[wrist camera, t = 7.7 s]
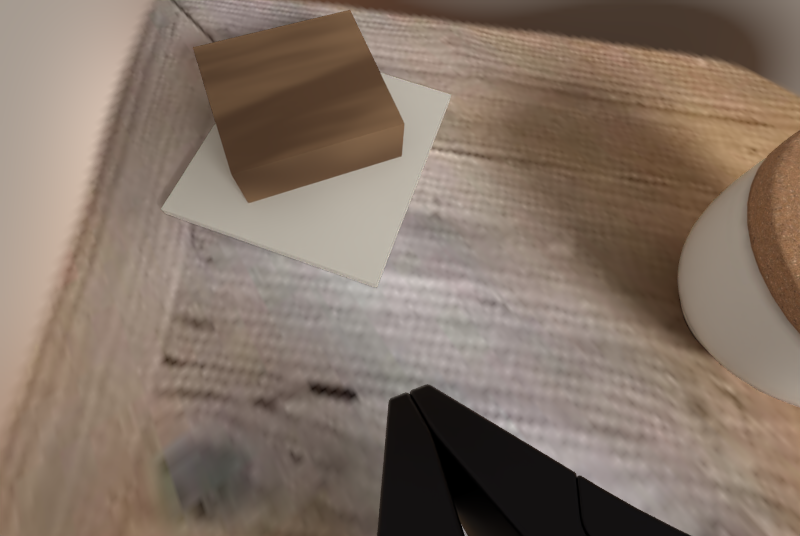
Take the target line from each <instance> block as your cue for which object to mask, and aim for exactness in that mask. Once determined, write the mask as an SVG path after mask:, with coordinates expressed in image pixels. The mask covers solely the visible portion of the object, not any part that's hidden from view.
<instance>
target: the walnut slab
mask: <svg viewBox="0 0 800 536" xmlns="http://www.w3.org/2000/svg"><path fill="white" fill-rule="evenodd" d="M193 50H194V53H195V56H196V60H197V63H198V66H199V69H200V73H201V76H202V79H203V83H204V86H205V89H206V93H207V96H208V99H209V103H210V106H211V109H212V113H213V116H214V119H215V122H216V126H217V129H218V132H219V136H220V139H221V142H222V146H223V149H224V152H225V156H226V159H227V162H228V166H229V169H230V172H231V175H232V177H233V178H234V180H235V182H236V183H237V185H238V187H239V188H240V190H241V192H242V193H243V195H244V197H245V198H246V200H247V202H248V203H251V202H255V201H258V200H261V199H264V198H268V197H271V196H274V195H277V194H281V193H284V192H287V191H290V190H294V189H297V188H300V187H303V186H307V185H310V184H313V183H316V182H320V181H323V180H326V179H329V178H333V177H336V176H339V175H342V174H346V173H349V172H352V171H355V170H359V169H362V168H365V167H368V166H372V165H375V164H378V163H381V162H385V161H388V160H391V159H394V158H398V157H401V156H402V148H403V136H404V125H405V123H404V121H403V119H402V117H401V115H400V113H399V111H398V109H397V107H396V104H395V102H394V100H393V98H392V96H391V94H390V92H389V90H388V88H387V86H386V84H385V82H384V80H383V77H382V75H381V73H380V71H379V69H378V67H377V65H376V63H375V61H374V59H373V57H372V55H371V53H370V50H369V48H368V46H367V44H366V42H365V40H364V38H363V36H362V34H361V32H360V30H359V28H358V26H357V23H356V21H355V19H354V17H353V15H352V13H351V11H350V10H348V11H343V12H339V13H335V14H331V15H327V16H322V17H318V18H314V19H310V20H306V21H301V22H297V23H293V24H289V25H285V26H280V27H276V28H272V29H268V30H264V31H260V32H255V33H251V34H247V35H243V36H239V37H234V38H230V39H226V40H222V41H218V42H213V43H209V44H205V45H201V46H197V47H193Z"/></svg>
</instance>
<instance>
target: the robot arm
mask: <svg viewBox="0 0 800 536" xmlns="http://www.w3.org/2000/svg"><path fill="white" fill-rule="evenodd" d="M461 524H462V525H461ZM462 526H463V528H464V530H465V531H466V533H467V535H468V536H691V535H689V534H687V533H684V532H682V531H680V530H678V529H676V528H674V527H672V526H670V525H668V524H666V523H664V522H663V521H661V520H659V519H657V518H655V517H653V516H651V515H649V514H647V513H645V512H643V511H641V510H639V509H637V508H635V507H633V506H632V505H630V504H628V503H626V502H625V501H623V500H621V499H619V498H618V497H616V496H614V495H612V494H611V493H609V492H607V491H605V490H604V489H602V488H600V487H599V486H597V485H595V484H594V483H592V482H590V481H589V480H587V479H585V478H584V477H582V476H576V473H575V472H573V471H572V470H570V469H569V468H567V467H565V466H564V465H562V464H560V463H559V462H557V461H555V460H554V459H552V458H550V457H549V456H547V455H545V454H544V453H542V452H540V451H539V450H537V449H535V448H534V447H532V446H530V445H529V444H527V443H525V442H524V441H522V440H520V439H519V438H517V437H515V436H514V435H512V434H511V433H509V432H507V431H506V430H504V429H502V428H501V427H499V426H497V425H496V424H494V423H492V422H491V421H489V420H487V419H486V418H484V417H482V416H481V415H479V414H477V413H476V412H474V411H472V410H471V409H469V408H467V407H466V406H464V405H462V404H461V403H459V402H458V401H456V400H454V399H453V398H451V397H449V396H448V395H446V394H444V393H443V392H441V391H439V390H438V389H436V388H434V387H433V386H431V385H428V384H427V385H424V386H421V387H418V388H416V389H413V390H411V392H410V394H409V393H403V394H400V395H398V396H395V397H393V398H391V399H390V400H389V404H388V416H387V428H386V439H385V451H384V463H383V474H382V486H381V497H380V509H379V521H378V532H377V536H465V535H464V532H463V529H462Z"/></svg>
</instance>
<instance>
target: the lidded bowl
mask: <svg viewBox="0 0 800 536" xmlns="http://www.w3.org/2000/svg"><path fill="white" fill-rule="evenodd" d="M677 281H678V290H679V296H680V303H681V308H682V312H683V315H684V318H685V320H686V323H687V325H688V327H689V328H690V330H691V332H692V333H693V335H694V336H695V338H696V339H697V340H698V341H699V343H700V344H701V345H702V346H703V347H704V348H705V349H706V350H707V351H708V352H709V353H710V354H711V355H712V356H713V357H714V358H715V359H716V360H717V361H718V362H719V363H720V364H721V365H722V366H723V367H725V368H726V369H727V370H728V371H730V372H731V373H732V374H733V375H735V376H736V377H738V378H739V379H741V380H743V381H744V382H746V383H747V384H749V385H751V386H752V387H754V388H755V389H757V390H759V391H760V392H763V393H765V394H767V395H769V396H771V397H774V398H776V399H778V400H781V401H783V402H786V403H789V404H791V405H794V406H797V407H800V130H799V131H798V132H796V133H795V134H793V135H792V136H791V137H789V138H788V139H787V140H785V141H784V142H783V143H782V144H780V145H779V146H778V147H777V148H776V149H775V150H773V151H772V152H771V153H770V154H769V155H768V156H767V157H766V158H765V159H763V160H762V161H760V162H759V163H757V164H756V165H755V166H753V167H752V168H751V169H749V170H748V171H747V172H745V173H744V174H743V175H741V176H740V177H739V178H738V179H737V180H735V181H734V182H733V183H732V184H731V185H730V186H728V187H727V188H726V189H725V190H724V191H723V192H722V193H721V194H720V195H719V196H717V197H716V198H715V199H714V200H713V201H712V203H711V204H710V205H709V206H708V207H707V208H706V210H705V211H704V212H703V213H702V214H701V216H700V217H699V218H698V220H697V221H696V222H695V224H694V225H693V227H692V229H691V231H690V233H689V235H688V237H687V239H686V241H685V243H684V245H683V248H682V252H681V256H680V260H679V266H678V280H677Z"/></svg>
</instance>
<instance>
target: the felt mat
mask: <svg viewBox="0 0 800 536" xmlns="http://www.w3.org/2000/svg"><path fill="white" fill-rule="evenodd" d="M381 75H382V77H383V80H384V82H385V84H386V86H387V88H388V90H389V92H390V94H391V96H392V98H393V100H394V102H395V104H396V107H397V109H398V111H399V113H400V115H401V117H402V119H403V121H404V123H405V125H404V136H403V148H402V156H401V157H398V158H394V159H391V160H388V161H385V162H381V163H378V164H375V165H372V166H368V167H365V168H362V169H359V170H355V171H352V172H349V173H346V174H342V175H339V176H336V177H333V178H329V179H326V180H323V181H320V182H316V183H313V184H310V185H307V186H303V187H300V188H297V189H294V190H290V191H287V192H284V193H281V194H277V195H274V196H271V197H268V198H264V199H261V200H258V201H255V202H251V203H248V202H247V200H246V198H245V197H244V195H243V193H242V192H241V190H240V188H239V187H238V185H237V183H236V182H235V180H234V178H233V177H232V175H231V172H230V169H229V166H228V162H227V159H226V156H225V152H224V149H223V146H222V142H221V139H220V136H219V132H218V129H217V126H216V123H215V125H214V126H213V128H212V129H211V131H210V132H209V134H208V136H207V137H206V139H205V140H204V142H203V143H202V145H201V147H200V148H199V150H198V151H197V153H196V154H195V156H194V158H193V159H192V161H191V162H190V164H189V166H188V167H187V169H186V170H185V172H184V173H183V175H182V177H181V178H180V180H179V181H178V183H177V184H176V186H175V188H174V189H173V191H172V192H171V194H170V195H169V197H168V199H167V200H166V202H165V203H164V205H163V207H162V208H161V210H162V211H163V212H164V213H165V214H167V215H170V216H173V217H176V218H179V219H181V220H184V221H187V222H190V223H193V224H196V225H198V226H201V227H204V228H207V229H210V230H213V231H216V232H218V233H221V234H224V235H227V236H230V237H233V238H235V239H238V240H241V241H244V242H247V243H250V244H253V245H255V246H258V247H261V248H264V249H267V250H270V251H272V252H275V253H278V254H281V255H284V256H287V257H289V258H292V259H295V260H298V261H301V262H304V263H307V264H309V265H312V266H315V267H318V268H321V269H324V270H326V271H329V272H332V273H335V274H338V275H341V276H344V277H346V278H349V279H352V280H355V281H358V282H361V283H363V284H366V285H369V286H372V287H375V288H377V286H378V283H379V280H380V278H381V275H382V273H383V270H384V268H385V265H386V263H387V260H388V257H389V255H390V252H391V250H392V247H393V245H394V242H395V240H396V237H397V234H398V232H399V229H400V227H401V224H402V222H403V219H404V217H405V214H406V211H407V209H408V206H409V204H410V201H411V199H412V196H413V194H414V191H415V188H416V186H417V183H418V181H419V178H420V176H421V173H422V171H423V168H424V165H425V163H426V160H427V158H428V155H429V153H430V150H431V148H432V145H433V142H434V140H435V137H436V135H437V132H438V130H439V127H440V125H441V122H442V119H443V117H444V114H445V112H446V109H447V107H448V104H449V102H450V97H451V94H448V93H444V92H441V91H438V90H435V89H432V88H428V87H425V86H422V85H419V84H415V83H412V82H409V81H406V80H403V79H399V78H396V77H393V76H390V75H386V74H383V73H381Z"/></svg>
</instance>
